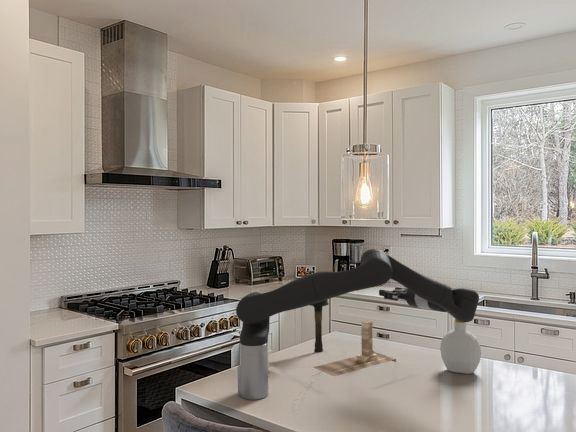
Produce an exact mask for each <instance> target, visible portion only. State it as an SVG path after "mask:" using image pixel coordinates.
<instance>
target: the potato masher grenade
mask: <svg viewBox="0 0 576 432" xmlns="http://www.w3.org/2000/svg"><path fill="white" fill-rule="evenodd" d="M328 300H329V299H327V300H324V301H321V302H318V303H315V304H312V305H309V307H310V306H311V307H313V309H314V326H315V327H314V328H315V329H314V330H315V332H314V333H315V338H314V339H315V340H314V350H313V351H314V353H315V354H316V353H322V352H323V353H324V348H323V346H324V344H323V339H322V338H323V336H322V335H323V334H322V332H323V329H322V326H323V325H322V322H323V307H326V306H328V305H329V301H328ZM314 353H313V354H314Z"/></svg>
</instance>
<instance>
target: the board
mask: <svg viewBox="0 0 576 432" xmlns="http://www.w3.org/2000/svg"><path fill="white" fill-rule="evenodd" d="M374 354H377V360H374V361H370V362H366V363H363V362H360V361H357V355H355V356H353V357H348V358H344V359H341V360H336V361H333V362H329V363H324V364H321V365H317V366H314V367H313V368H314V369H317V370H319V371H322V372H324V373H326V374H328V375H331V376H333V377H337V376H340V375H344V374H347V373H351V372H354V371H359V370H362V369H366V368H369V367H373V366H376V365H379V364H383V363H387V362H390V361H391V362H394V363H397V358H395V357H391V356H389V355H385V354H383V353H379V352H376V351H374Z"/></svg>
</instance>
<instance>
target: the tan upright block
mask: <svg viewBox="0 0 576 432" xmlns="http://www.w3.org/2000/svg"><path fill="white" fill-rule="evenodd" d="M360 323H361V324H360V325H361V330H360V331H361V354H358V355H356V356H357V361H360V362H363V363H366V362H370V361H374V360H377V354H374V352H375V350H373V321H371V320H363V321H361V322H360Z"/></svg>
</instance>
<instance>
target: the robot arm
mask: <svg viewBox="0 0 576 432" xmlns="http://www.w3.org/2000/svg"><path fill="white" fill-rule="evenodd" d="M359 261H360V265H358V266H355V267H353V268H350V269H348V270H343V271H342V270H341V271H324V270H323V271H317V272H313V273H310V274H308V275H304V276H301V277H299V278H296V279H294V280H291V281H290V282H288V283H285V284H284V285H282V286H280V287H278V288H276V289H273V290H270V291H266V292H264V293H262V292H259V291H258V292H257V291H256V292H255V291H253V292H250V293H248V294H247V295H245V296H243V297H242V298H241V299H240V300H239V301H238V303H237V305H236V308H235V314H236V316H237V317H236V318H238V319H239V321H241V322H242V327H241V331H240V335H239V365H238V366H237V396H240V397H241V398H243V399H244V400H245V399H246V400H251V401H252V400H253V401H254V400H260V399H261V400H262V399H264V398H266V397H267V396H268V395H269V333H270V318H271V317H272V316H274V315H277V314H280V313H284V312H288V311H292V310H296V309H300V308H304V307H308V306H310V305H312V304H315V303H318V302H321V301H324V300H327V299H328V300H330V299H333V298H335V297H339V296H342V295H346V294H349V293H352V292H356V291H361V290H365V289H370V288H371V289H372V288H376V287H380V286H382V285H385V284H386V283H388V282H389V281H390V280H392V281H395V282H397V284H400V285H402V286H403V287H399V286H395V287H394V289H392V290H389V289H387V290H386V289H378V295H379V296H380V297H383V299H384V300H391V301H396V302H397V301H405V302H406V303H407V304H408V306H409V307H413V308H418V309H423V310H432V311H436V312H441V313H446V312H447V313H448V314H449V315H450V316H451V317H453V318H454V320H455V319H457V320H459V321H461V322H466V323H470V322H472V321H473V320H474V319H475V315H476V311H477V308H478V306H479V301H480V296H479V293H478V292H477V291H475V290H474V289H472V288H468V287H461V288H460V287H459V288H455V289H452V287H451V286H450V285H448V284H446V283H443V282H441V281H439V280H437V279H434V278H432V277H430V276H427V275H425V274H423V273H420V272H418V271H417V270H414V269H413V268H411V267H409V266H408V265H405V264H403V263H402V262H400V261H398V260H397V259H396V258H394V257H392V256H391V255H390V254H388V253H386V252H384V251H383V250H381V249H378V248H371V249H368V250H366V251H364V252H363V254H362V255H361V257H360V260H359Z"/></svg>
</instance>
